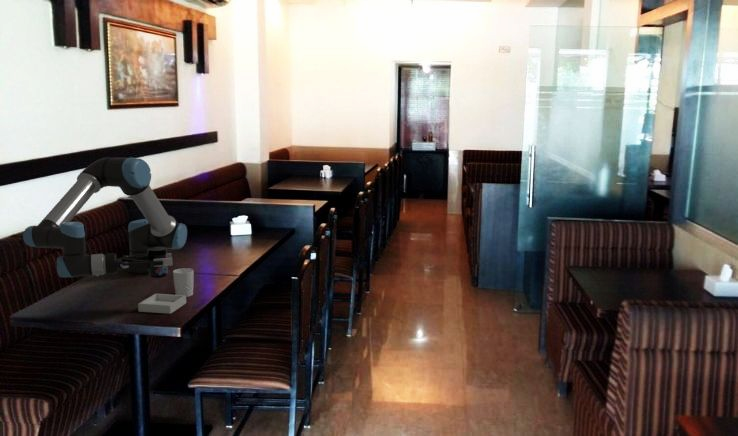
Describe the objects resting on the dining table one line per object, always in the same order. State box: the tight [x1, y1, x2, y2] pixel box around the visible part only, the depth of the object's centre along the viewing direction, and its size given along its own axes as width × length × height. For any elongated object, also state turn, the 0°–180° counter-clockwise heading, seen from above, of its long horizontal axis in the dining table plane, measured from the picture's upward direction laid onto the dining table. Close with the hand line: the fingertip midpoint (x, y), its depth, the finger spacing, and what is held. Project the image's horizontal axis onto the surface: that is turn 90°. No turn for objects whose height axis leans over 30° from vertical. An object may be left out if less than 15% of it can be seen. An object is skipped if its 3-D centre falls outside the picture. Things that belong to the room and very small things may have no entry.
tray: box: [137, 293, 187, 314], centre depth 233 cm, size 13×13×3 cm
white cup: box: [172, 267, 195, 298], centre depth 247 cm, size 8×8×10 cm
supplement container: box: [147, 247, 169, 279], centre depth 230 cm, size 7×7×10 cm
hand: (171, 259), depth 231 cm, fingers closed on supplement container, 7 cm apart
